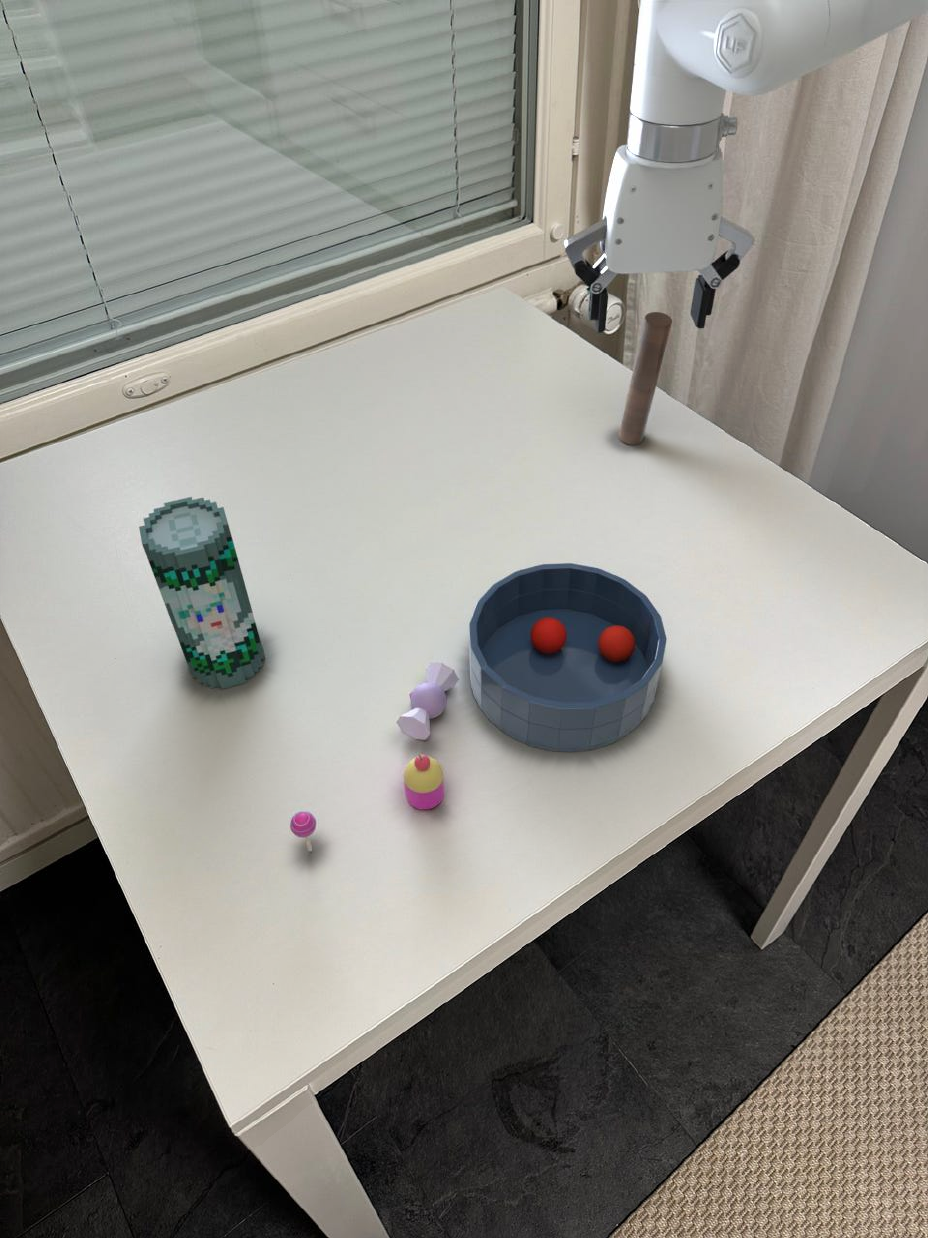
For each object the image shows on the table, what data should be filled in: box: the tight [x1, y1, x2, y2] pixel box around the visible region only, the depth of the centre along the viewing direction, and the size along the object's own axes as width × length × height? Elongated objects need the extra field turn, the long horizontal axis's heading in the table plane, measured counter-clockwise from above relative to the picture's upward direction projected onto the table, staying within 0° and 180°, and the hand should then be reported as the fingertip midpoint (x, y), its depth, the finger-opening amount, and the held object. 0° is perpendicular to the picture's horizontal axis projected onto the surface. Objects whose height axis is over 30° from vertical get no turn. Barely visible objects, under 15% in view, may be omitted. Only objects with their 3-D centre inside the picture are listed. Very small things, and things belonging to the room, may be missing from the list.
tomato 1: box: [530, 618, 567, 654], centre depth 74 cm, size 3×3×3 cm
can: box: [138, 496, 266, 690], centre depth 70 cm, size 6×6×15 cm
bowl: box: [468, 562, 668, 753], centre depth 72 cm, size 15×15×6 cm
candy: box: [289, 662, 460, 853], centre depth 65 cm, size 18×8×6 cm, turn 158°
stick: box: [618, 311, 673, 446], centre depth 90 cm, size 3×3×14 cm
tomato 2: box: [598, 625, 635, 662], centre depth 73 cm, size 3×3×3 cm
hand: (647, 323), depth 87 cm, fingers open, 9 cm apart
